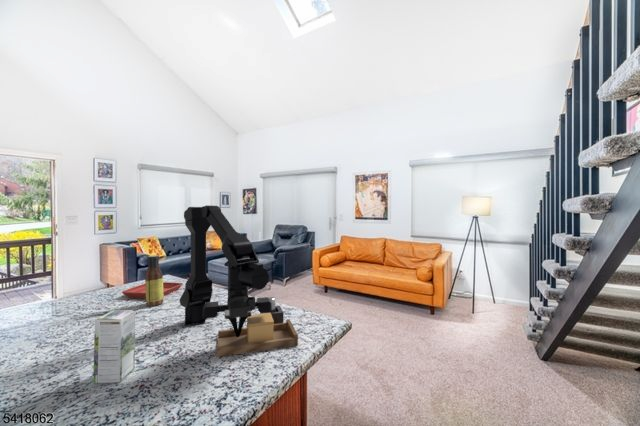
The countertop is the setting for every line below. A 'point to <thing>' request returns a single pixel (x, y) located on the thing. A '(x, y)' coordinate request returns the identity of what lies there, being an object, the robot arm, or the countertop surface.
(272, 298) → the rounded metal peg
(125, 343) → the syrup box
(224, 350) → the bay
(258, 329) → the tan cardboard box
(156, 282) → the sauce bottle
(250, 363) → the countertop surface
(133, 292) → the plant saucer
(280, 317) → the square hollow tube
